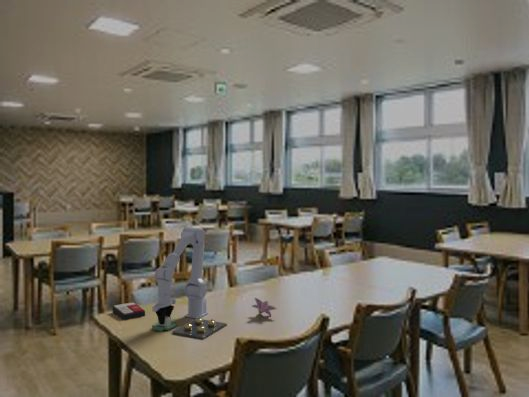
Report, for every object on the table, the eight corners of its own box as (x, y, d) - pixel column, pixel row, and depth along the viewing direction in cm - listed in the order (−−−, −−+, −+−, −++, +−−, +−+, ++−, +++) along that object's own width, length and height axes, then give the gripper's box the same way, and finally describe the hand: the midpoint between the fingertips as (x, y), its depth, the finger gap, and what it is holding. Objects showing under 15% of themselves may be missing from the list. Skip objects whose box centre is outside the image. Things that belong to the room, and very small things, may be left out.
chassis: (197, 320, 215) (197, 312, 215) (226, 325, 209) (226, 317, 209) (172, 333, 197) (172, 324, 197) (203, 339, 191) (203, 330, 190)
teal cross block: (163, 321, 212) (163, 312, 212) (179, 324, 208) (179, 315, 208) (148, 328, 202) (148, 319, 202) (165, 331, 198) (165, 322, 198)
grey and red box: (123, 313, 215) (112, 304, 226) (123, 322, 215) (112, 312, 227) (145, 309, 221) (133, 301, 233) (145, 318, 222) (133, 309, 234)
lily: (278, 321, 219) (280, 302, 223) (260, 316, 212) (263, 296, 216) (262, 323, 227) (264, 304, 231) (244, 318, 220) (246, 298, 224)
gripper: (166, 288, 213) (166, 317, 213) (146, 296, 199) (146, 326, 200) (179, 290, 210) (179, 319, 210) (159, 298, 196) (159, 328, 197)
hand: (164, 322), depth 205 cm, fingers closed on teal cross block, 3 cm apart
